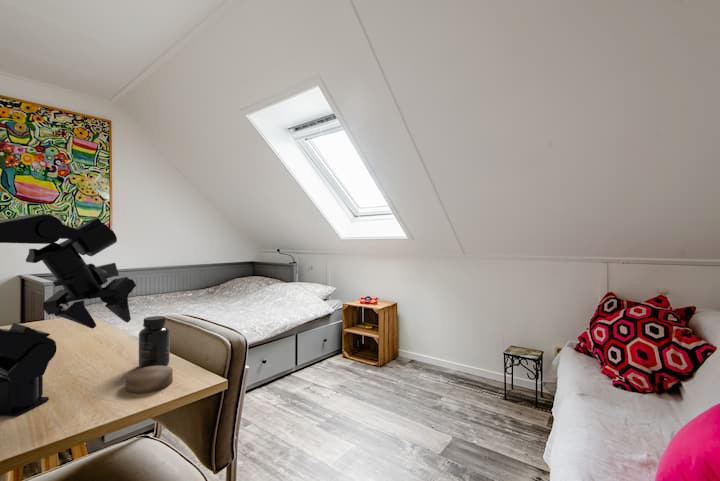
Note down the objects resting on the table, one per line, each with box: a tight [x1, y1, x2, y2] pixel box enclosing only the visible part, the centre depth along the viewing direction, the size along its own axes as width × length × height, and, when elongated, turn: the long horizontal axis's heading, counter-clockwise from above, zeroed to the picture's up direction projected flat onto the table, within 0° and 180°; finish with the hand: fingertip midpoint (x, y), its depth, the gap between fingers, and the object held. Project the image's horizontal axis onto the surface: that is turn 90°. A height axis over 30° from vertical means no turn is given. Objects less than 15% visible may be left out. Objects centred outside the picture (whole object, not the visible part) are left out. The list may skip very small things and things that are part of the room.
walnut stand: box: [124, 365, 174, 394], centre depth 80 cm, size 9×9×2 cm
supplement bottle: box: [138, 315, 171, 369], centre depth 91 cm, size 7×7×12 cm
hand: (111, 324), depth 83 cm, fingers open, 9 cm apart
